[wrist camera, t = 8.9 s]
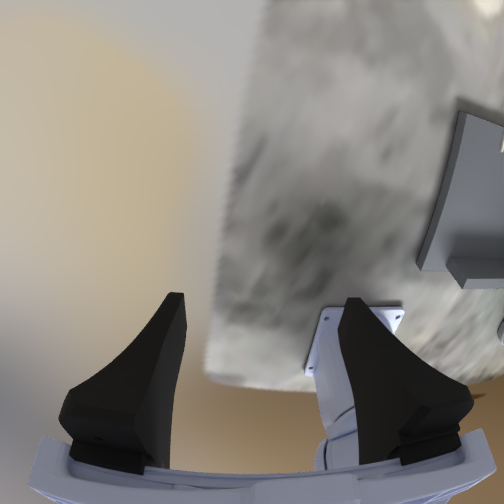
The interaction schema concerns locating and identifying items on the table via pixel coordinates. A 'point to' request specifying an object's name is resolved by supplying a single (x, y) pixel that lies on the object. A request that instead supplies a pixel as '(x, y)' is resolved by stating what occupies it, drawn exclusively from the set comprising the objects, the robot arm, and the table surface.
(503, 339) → the travel mug
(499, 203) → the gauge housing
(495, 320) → the table surface
